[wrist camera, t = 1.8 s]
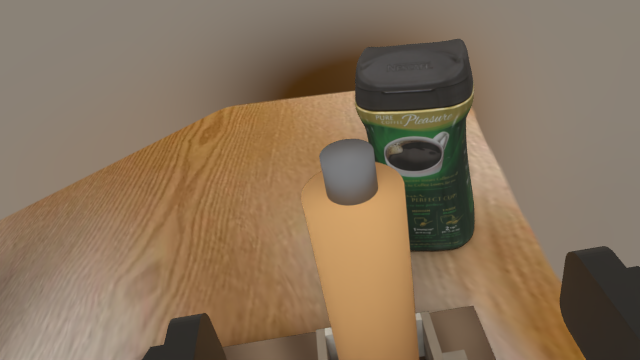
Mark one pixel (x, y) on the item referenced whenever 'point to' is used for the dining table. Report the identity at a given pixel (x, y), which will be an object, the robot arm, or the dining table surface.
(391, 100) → the coffee jar
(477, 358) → the board
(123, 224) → the dining table surface
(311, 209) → the tall tan cylinder
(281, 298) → the dining table surface
